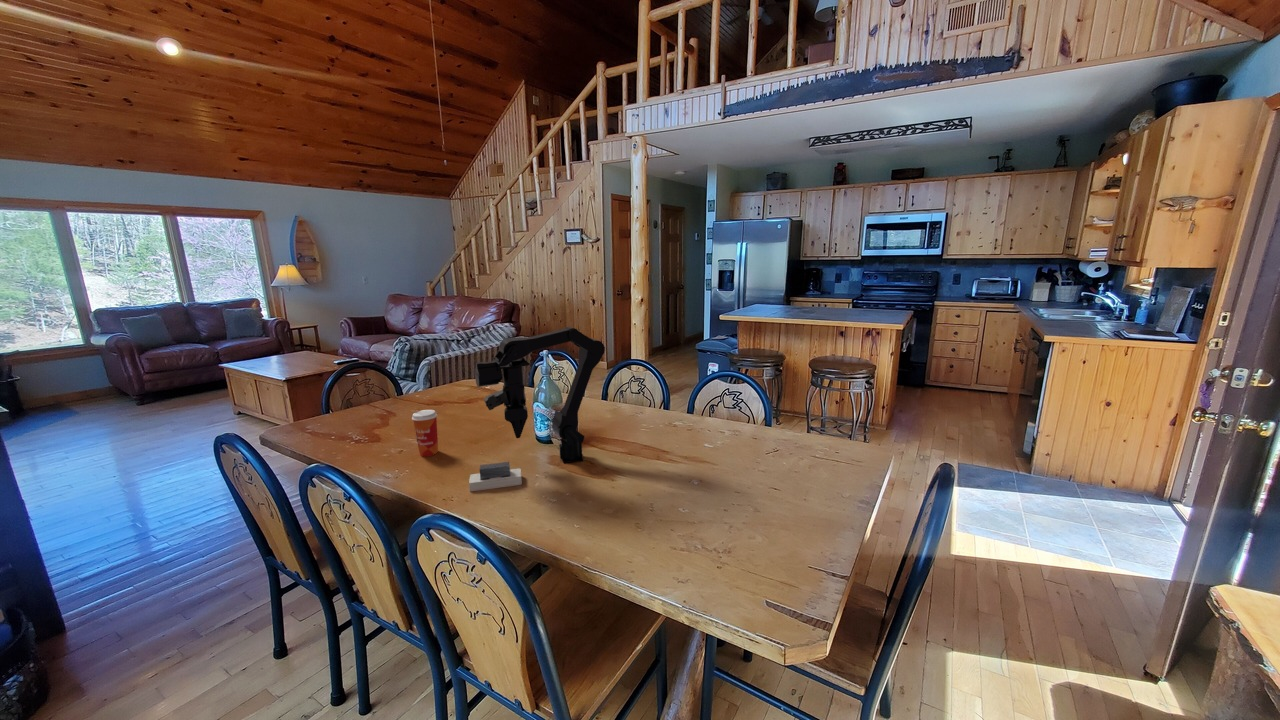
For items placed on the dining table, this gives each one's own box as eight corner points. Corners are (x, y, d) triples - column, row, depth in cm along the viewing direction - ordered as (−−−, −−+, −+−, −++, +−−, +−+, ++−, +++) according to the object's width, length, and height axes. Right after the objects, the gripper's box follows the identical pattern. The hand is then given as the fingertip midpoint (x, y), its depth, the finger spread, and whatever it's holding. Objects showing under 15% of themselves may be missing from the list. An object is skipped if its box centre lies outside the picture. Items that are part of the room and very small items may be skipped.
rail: (521, 476, 143) (520, 468, 143) (521, 484, 138) (521, 476, 137) (471, 482, 140) (470, 474, 139) (469, 491, 134) (468, 483, 134)
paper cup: (411, 455, 160) (405, 415, 157) (429, 447, 167) (424, 408, 164) (429, 459, 157) (424, 417, 154) (446, 450, 164) (442, 410, 161)
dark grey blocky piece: (510, 478, 141) (509, 461, 140) (510, 482, 138) (509, 465, 137) (481, 482, 139) (480, 465, 138) (481, 486, 136) (479, 469, 135)
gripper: (486, 376, 148) (490, 425, 151) (483, 392, 130) (488, 447, 134) (523, 373, 151) (527, 421, 154) (525, 389, 133) (529, 442, 136)
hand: (517, 432), depth 145 cm, fingers open, 9 cm apart
